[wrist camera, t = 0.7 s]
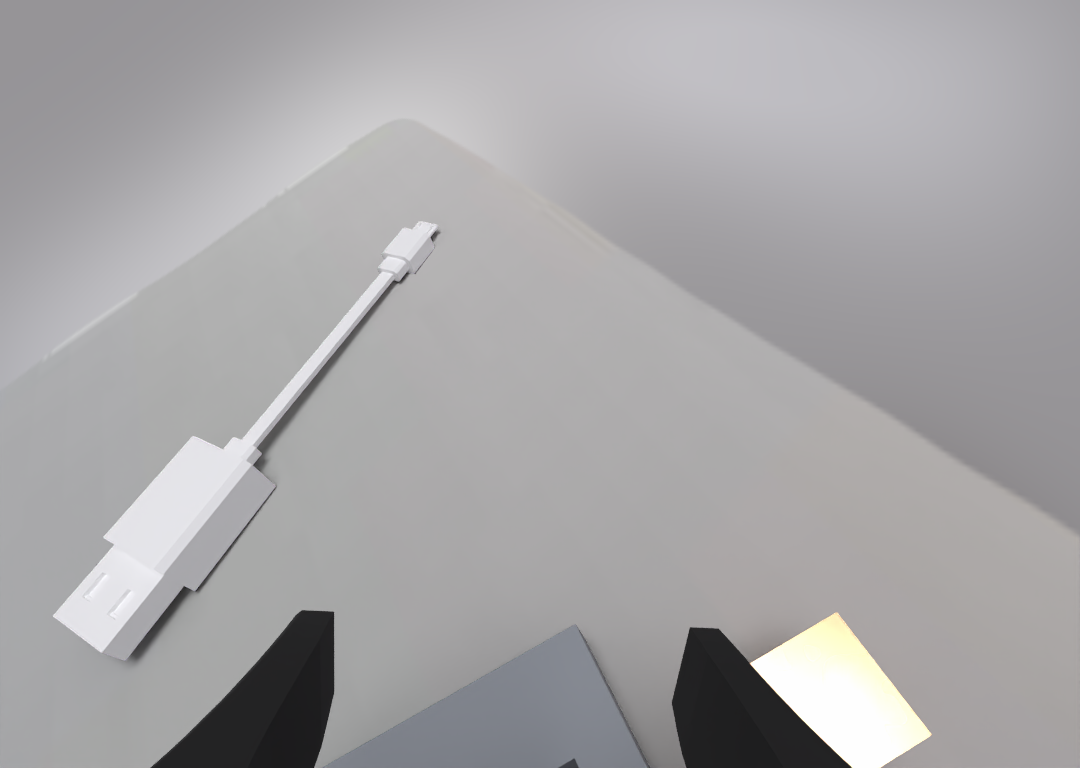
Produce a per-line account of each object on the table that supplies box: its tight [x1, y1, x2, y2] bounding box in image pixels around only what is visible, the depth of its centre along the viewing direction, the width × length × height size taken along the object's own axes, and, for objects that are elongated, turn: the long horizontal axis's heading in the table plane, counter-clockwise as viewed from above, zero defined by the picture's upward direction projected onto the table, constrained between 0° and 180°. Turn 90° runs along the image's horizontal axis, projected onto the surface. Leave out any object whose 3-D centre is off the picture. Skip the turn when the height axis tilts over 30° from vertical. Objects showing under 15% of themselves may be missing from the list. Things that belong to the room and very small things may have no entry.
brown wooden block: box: [750, 613, 931, 768], centre depth 22 cm, size 4×4×7 cm
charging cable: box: [53, 221, 439, 661], centre depth 39 cm, size 5×32×3 cm, turn 153°
